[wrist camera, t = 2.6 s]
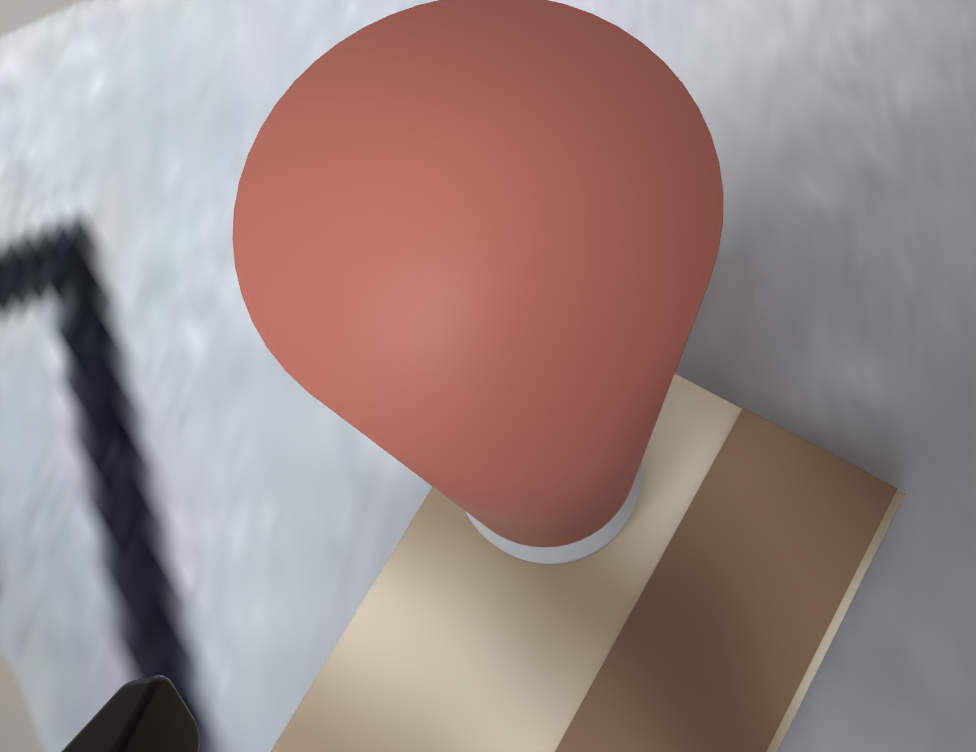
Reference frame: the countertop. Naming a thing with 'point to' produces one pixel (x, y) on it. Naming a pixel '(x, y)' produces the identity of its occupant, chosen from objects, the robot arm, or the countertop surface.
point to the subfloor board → (615, 610)
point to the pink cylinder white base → (488, 255)
